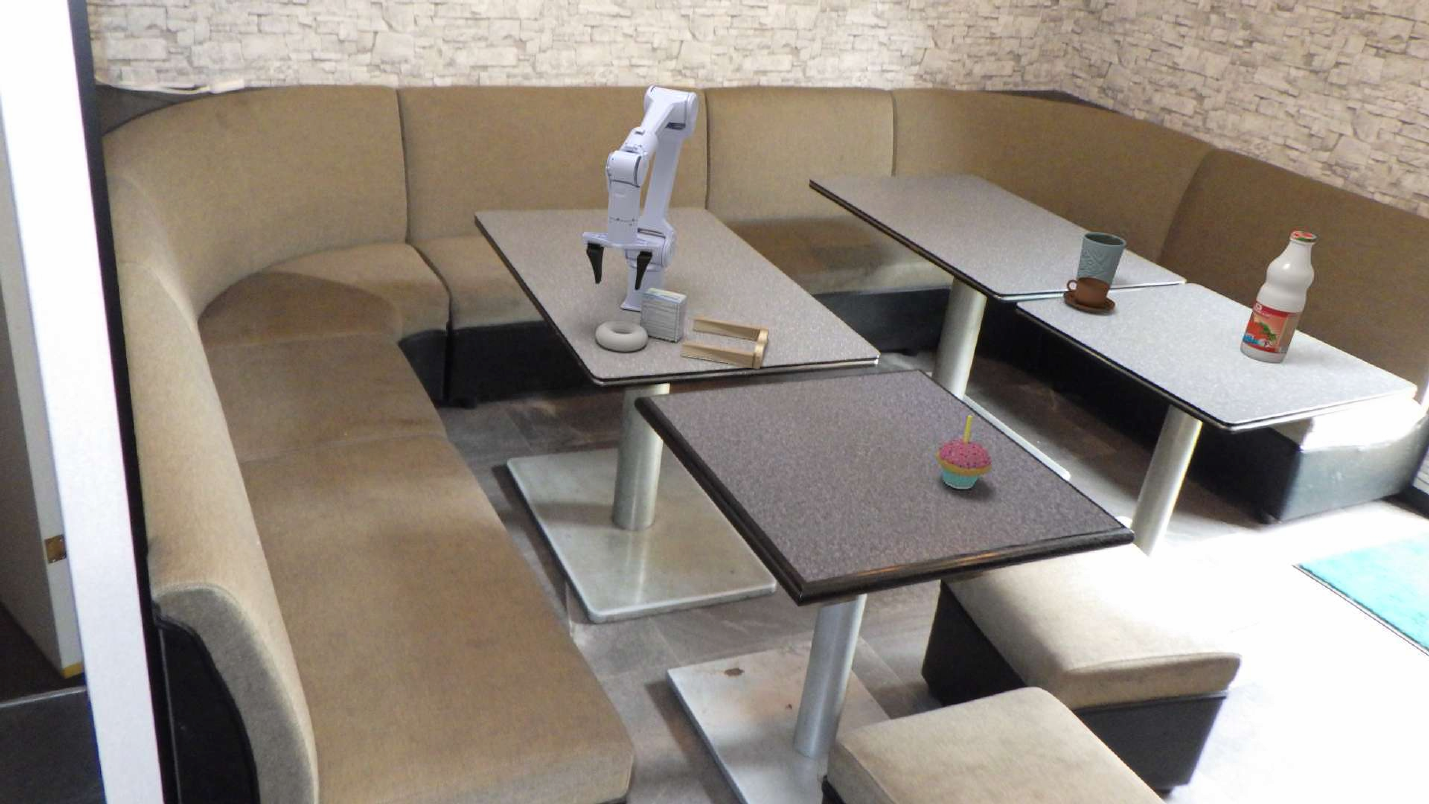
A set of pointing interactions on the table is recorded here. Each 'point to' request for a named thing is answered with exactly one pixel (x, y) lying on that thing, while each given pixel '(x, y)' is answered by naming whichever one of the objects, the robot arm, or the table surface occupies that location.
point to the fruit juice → (1280, 301)
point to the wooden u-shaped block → (724, 353)
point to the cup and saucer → (1089, 295)
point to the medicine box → (663, 314)
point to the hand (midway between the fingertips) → (617, 285)
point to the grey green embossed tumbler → (1100, 256)
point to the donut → (621, 336)
